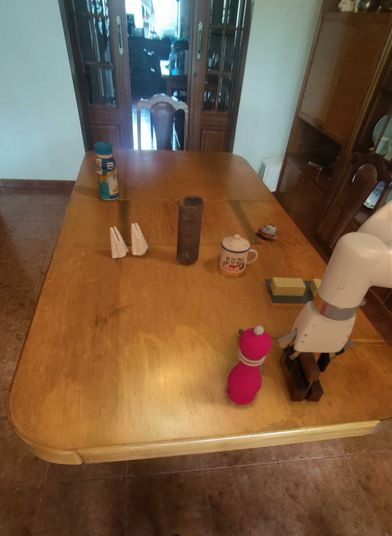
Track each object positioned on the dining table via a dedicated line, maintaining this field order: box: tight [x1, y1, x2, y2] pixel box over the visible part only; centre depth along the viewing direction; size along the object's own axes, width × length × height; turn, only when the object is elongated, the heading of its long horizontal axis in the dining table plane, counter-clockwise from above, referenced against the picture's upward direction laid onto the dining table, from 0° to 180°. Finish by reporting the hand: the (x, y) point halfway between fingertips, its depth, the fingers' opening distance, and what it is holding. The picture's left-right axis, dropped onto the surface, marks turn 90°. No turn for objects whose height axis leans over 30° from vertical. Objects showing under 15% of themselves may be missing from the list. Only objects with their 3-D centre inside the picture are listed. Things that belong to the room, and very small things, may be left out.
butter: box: [270, 276, 306, 296], centre depth 94 cm, size 9×5×3 cm, turn 92°
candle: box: [175, 194, 204, 264], centre depth 99 cm, size 8×7×20 cm
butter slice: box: [309, 278, 322, 296], centre depth 95 cm, size 2×5×3 cm, turn 2°
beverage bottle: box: [93, 141, 120, 201], centre depth 130 cm, size 8×8×20 cm
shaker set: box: [109, 222, 149, 259], centre depth 102 cm, size 12×4×11 cm, turn 99°
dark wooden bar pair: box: [279, 350, 324, 403], centre depth 72 cm, size 6×12×4 cm, turn 2°
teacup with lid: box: [218, 233, 258, 274], centre depth 100 cm, size 12×9×12 cm
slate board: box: [264, 278, 315, 305], centre depth 96 cm, size 18×12×1 cm, turn 92°
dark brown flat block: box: [296, 352, 322, 391], centre depth 71 cm, size 2×10×8 cm, turn 2°
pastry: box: [257, 222, 279, 241], centre depth 120 cm, size 8×8×5 cm
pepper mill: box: [226, 324, 273, 406], centre depth 63 cm, size 7×7×20 cm
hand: (304, 366), depth 70 cm, fingers open, 6 cm apart
